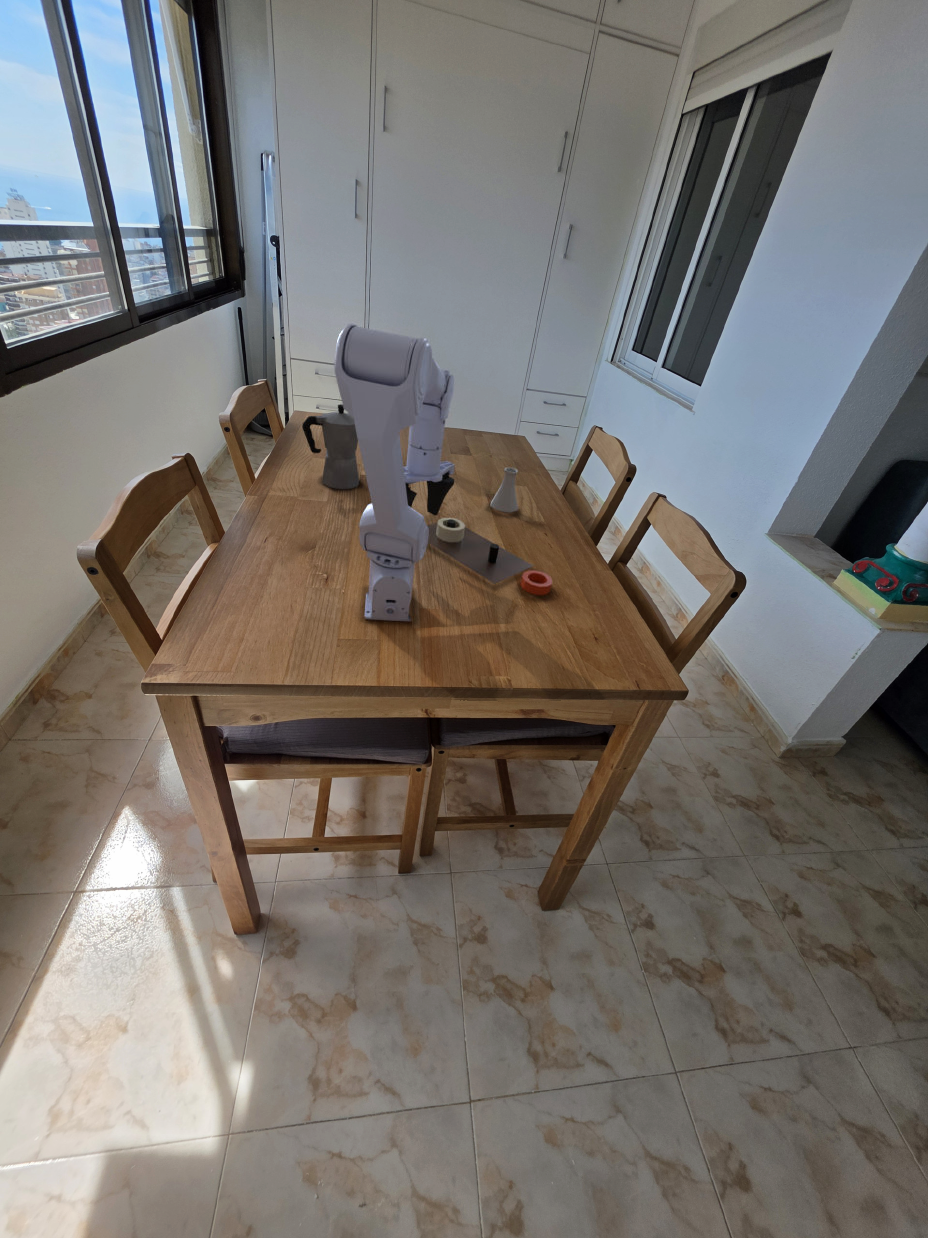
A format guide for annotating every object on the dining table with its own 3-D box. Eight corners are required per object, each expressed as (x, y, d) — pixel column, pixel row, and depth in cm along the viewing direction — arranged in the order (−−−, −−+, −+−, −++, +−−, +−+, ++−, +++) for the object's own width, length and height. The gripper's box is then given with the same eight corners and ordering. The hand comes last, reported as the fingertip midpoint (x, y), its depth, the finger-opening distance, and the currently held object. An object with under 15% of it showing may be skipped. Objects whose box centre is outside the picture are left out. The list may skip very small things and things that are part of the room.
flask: (483, 509, 127) (490, 469, 122) (496, 500, 133) (503, 461, 127) (510, 519, 125) (519, 478, 119) (522, 509, 131) (531, 470, 125)
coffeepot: (359, 472, 135) (361, 398, 124) (374, 487, 129) (377, 410, 118) (298, 476, 127) (294, 398, 117) (310, 493, 121) (308, 411, 111)
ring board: (532, 570, 107) (537, 550, 105) (493, 588, 100) (498, 568, 97) (449, 522, 119) (451, 503, 117) (408, 535, 112) (410, 515, 109)
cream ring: (466, 542, 111) (468, 530, 109) (440, 542, 109) (441, 530, 107) (458, 529, 115) (460, 517, 113) (433, 529, 113) (435, 517, 111)
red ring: (553, 598, 100) (557, 586, 98) (526, 599, 98) (529, 587, 96) (542, 582, 104) (545, 569, 102) (515, 583, 102) (518, 570, 101)
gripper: (410, 459, 83) (403, 537, 91) (471, 445, 92) (460, 517, 100) (380, 444, 86) (376, 521, 94) (441, 432, 96) (433, 503, 104)
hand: (417, 518), depth 97 cm, fingers open, 7 cm apart
